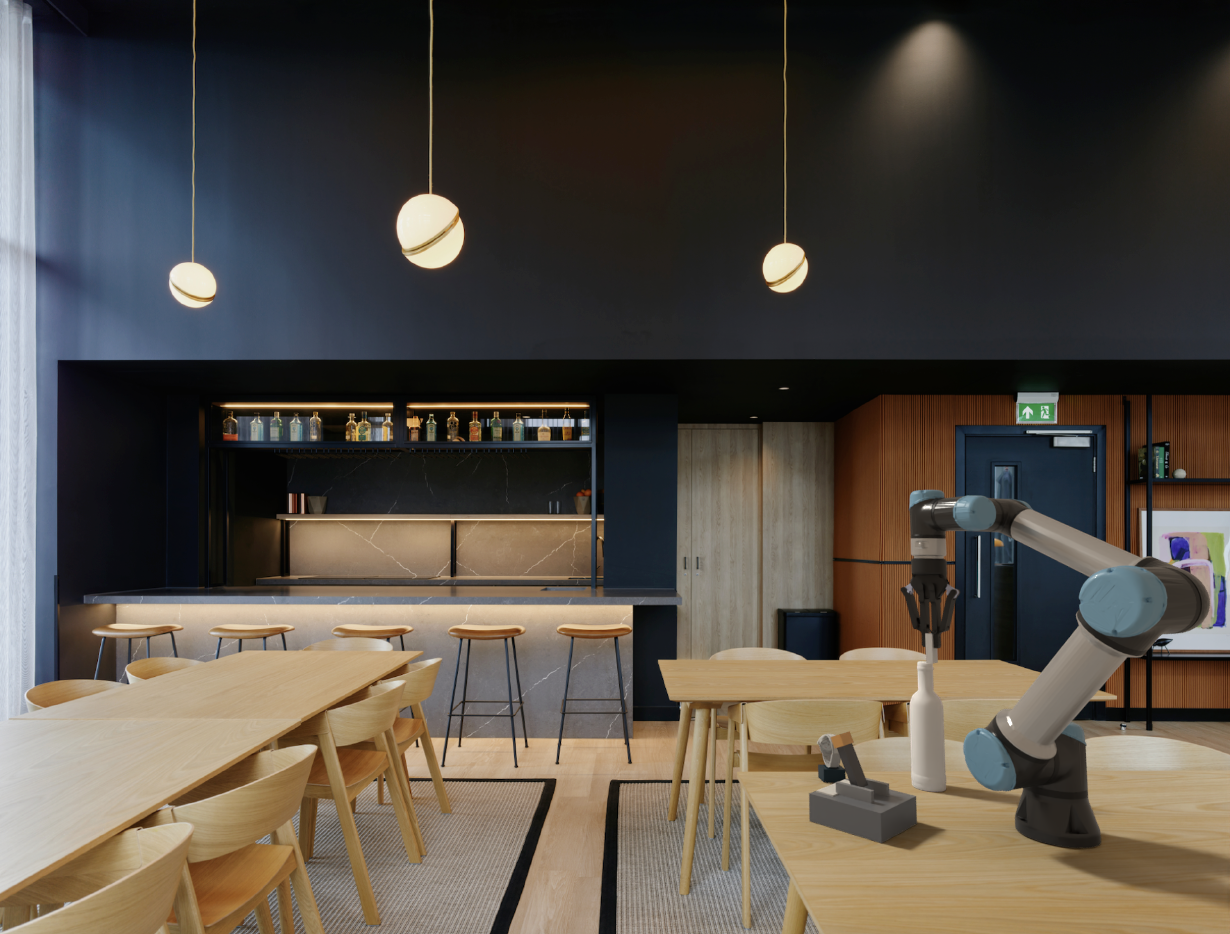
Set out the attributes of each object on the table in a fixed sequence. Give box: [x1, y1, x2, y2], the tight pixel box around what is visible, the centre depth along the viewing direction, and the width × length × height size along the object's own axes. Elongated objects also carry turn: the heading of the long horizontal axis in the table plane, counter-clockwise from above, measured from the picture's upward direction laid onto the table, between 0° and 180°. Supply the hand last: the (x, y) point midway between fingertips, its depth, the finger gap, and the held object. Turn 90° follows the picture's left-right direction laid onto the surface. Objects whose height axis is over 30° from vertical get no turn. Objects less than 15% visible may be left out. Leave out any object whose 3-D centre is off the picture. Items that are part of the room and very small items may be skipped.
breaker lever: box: [831, 731, 868, 787], centre depth 159 cm, size 2×4×11 cm, turn 136°
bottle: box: [909, 660, 947, 793], centre depth 182 cm, size 8×8×30 cm
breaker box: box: [808, 777, 918, 844], centre depth 156 cm, size 16×16×8 cm
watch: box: [816, 733, 847, 784], centre depth 186 cm, size 6×8×11 cm
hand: (931, 662), depth 166 cm, fingers closed
